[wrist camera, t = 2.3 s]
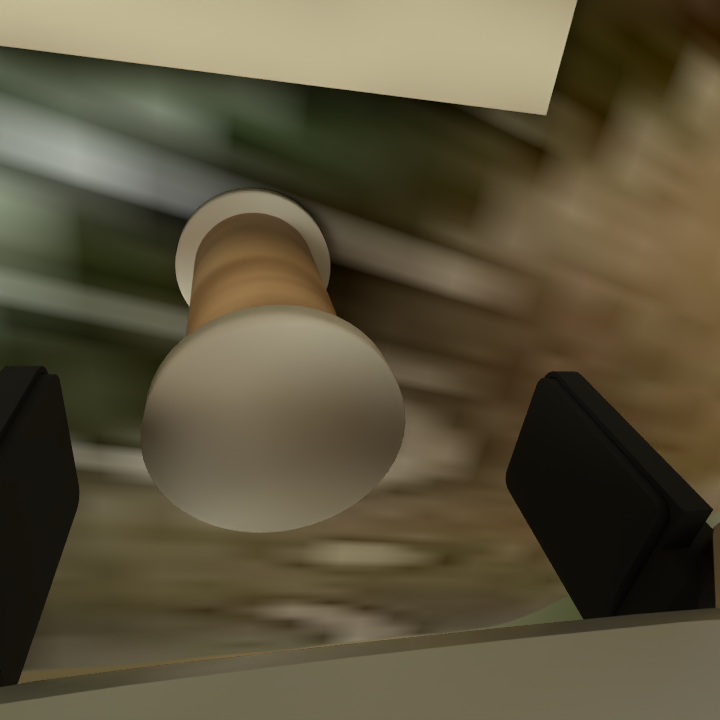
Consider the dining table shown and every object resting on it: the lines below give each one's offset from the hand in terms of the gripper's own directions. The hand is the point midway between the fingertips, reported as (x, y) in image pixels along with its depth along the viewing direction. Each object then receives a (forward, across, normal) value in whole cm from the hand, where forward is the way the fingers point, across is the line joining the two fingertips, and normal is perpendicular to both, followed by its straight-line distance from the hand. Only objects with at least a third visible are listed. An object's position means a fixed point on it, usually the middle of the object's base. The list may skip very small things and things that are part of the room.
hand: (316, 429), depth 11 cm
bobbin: (+10, +1, 0) cm, 10 cm away
